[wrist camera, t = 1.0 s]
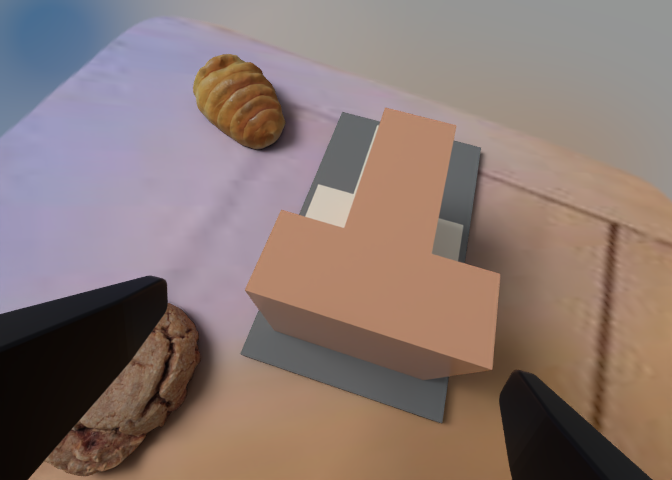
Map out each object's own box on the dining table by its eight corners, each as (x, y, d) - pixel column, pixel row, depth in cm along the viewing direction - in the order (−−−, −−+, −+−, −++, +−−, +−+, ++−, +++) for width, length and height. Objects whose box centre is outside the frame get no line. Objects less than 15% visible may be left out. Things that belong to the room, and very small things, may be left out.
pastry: (305, 132, 30) (302, 98, 26) (241, 167, 28) (229, 135, 24) (252, 76, 33) (243, 39, 29) (191, 104, 31) (174, 67, 27)
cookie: (231, 378, 21) (218, 375, 18) (61, 515, 17) (13, 538, 15) (158, 266, 24) (137, 249, 21) (2, 364, 20) (-47, 360, 18)
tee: (423, 380, 20) (492, 369, 12) (274, 330, 21) (244, 290, 13) (450, 221, 25) (512, 139, 17) (330, 187, 26) (333, 94, 18)
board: (438, 422, 20) (442, 423, 19) (242, 355, 21) (240, 354, 20) (478, 152, 29) (480, 147, 29) (341, 117, 30) (342, 112, 30)
